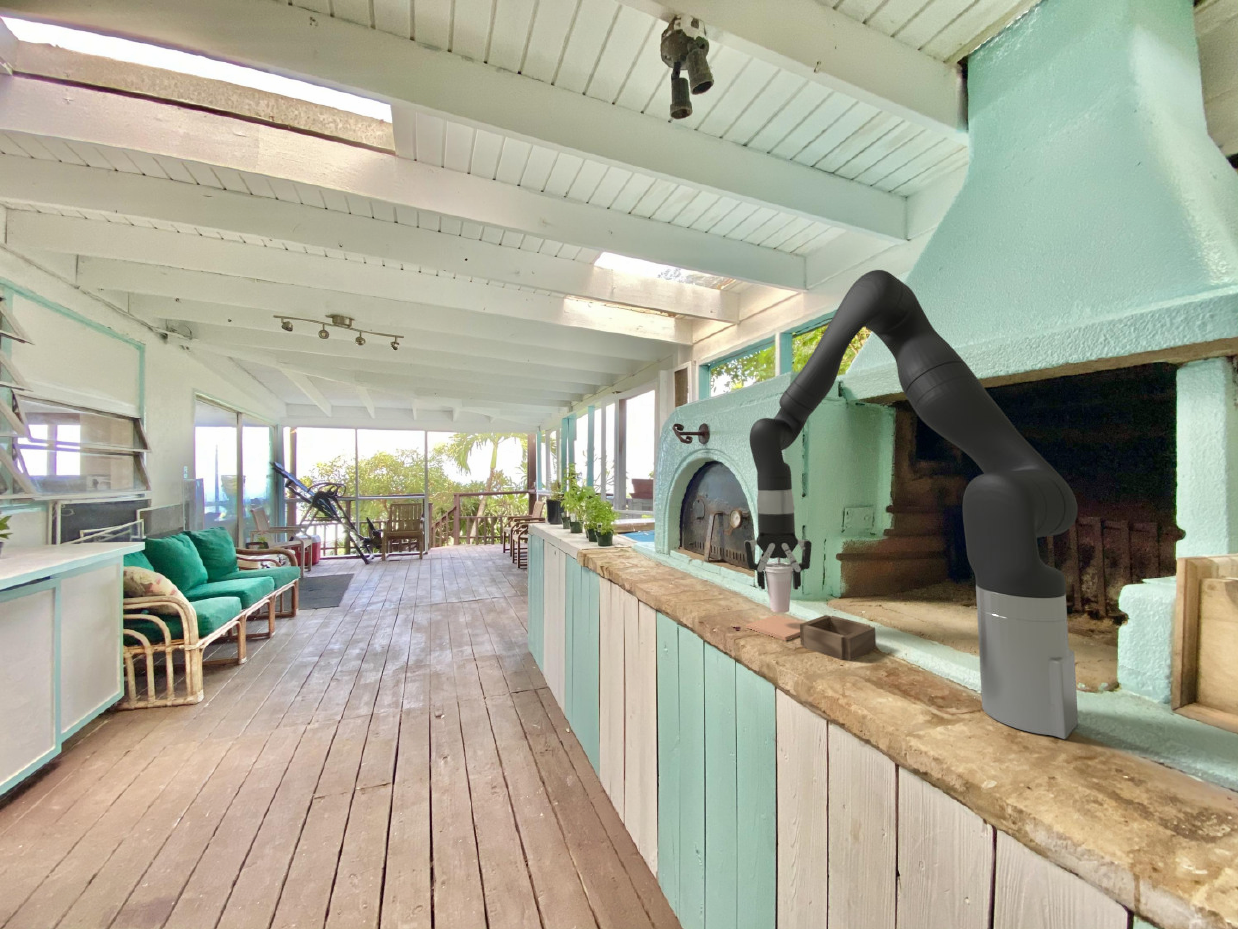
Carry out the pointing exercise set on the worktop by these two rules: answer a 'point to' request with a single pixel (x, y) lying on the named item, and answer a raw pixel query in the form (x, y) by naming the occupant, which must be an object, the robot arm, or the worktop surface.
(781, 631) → the terracotta tile
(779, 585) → the smoothie
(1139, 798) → the worktop surface
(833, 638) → the wooden storage tray
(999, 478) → the robot arm
